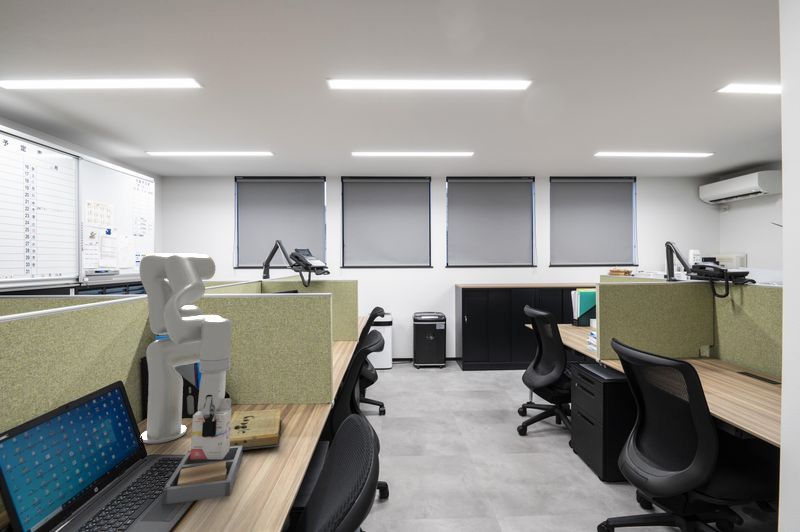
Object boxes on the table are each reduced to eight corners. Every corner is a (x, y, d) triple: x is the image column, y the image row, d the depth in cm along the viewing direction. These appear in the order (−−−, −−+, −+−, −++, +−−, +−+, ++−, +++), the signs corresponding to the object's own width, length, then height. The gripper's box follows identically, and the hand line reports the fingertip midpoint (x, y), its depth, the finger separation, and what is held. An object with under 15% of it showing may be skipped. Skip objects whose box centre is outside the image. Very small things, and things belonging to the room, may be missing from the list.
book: (232, 426, 126) (233, 409, 126) (282, 421, 131) (282, 405, 131) (218, 461, 102) (219, 439, 103) (279, 454, 107) (280, 433, 107)
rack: (187, 465, 99) (188, 450, 99) (242, 459, 103) (242, 445, 103) (161, 508, 81) (162, 490, 81) (229, 499, 84) (229, 481, 85)
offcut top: (180, 476, 89) (180, 469, 89) (225, 468, 93) (225, 460, 93) (177, 491, 83) (177, 483, 83) (225, 481, 87) (225, 474, 87)
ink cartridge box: (189, 460, 94) (191, 403, 95) (198, 451, 99) (200, 397, 100) (223, 459, 95) (225, 403, 95) (230, 451, 100) (232, 397, 100)
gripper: (207, 357, 105) (204, 419, 105) (190, 373, 88) (186, 447, 88) (235, 356, 107) (232, 417, 107) (223, 372, 90) (220, 444, 90)
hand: (211, 430), depth 97 cm, fingers closed on ink cartridge box, 5 cm apart
